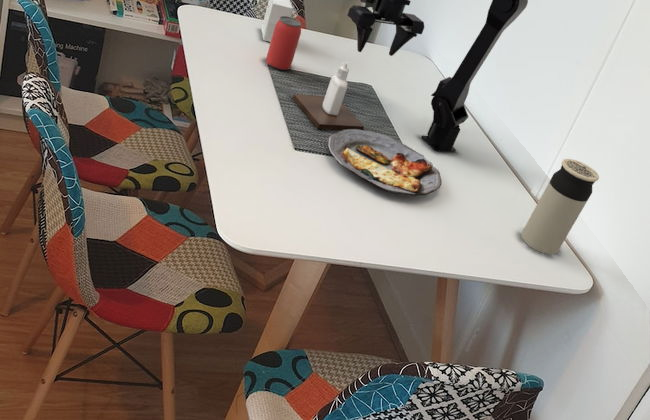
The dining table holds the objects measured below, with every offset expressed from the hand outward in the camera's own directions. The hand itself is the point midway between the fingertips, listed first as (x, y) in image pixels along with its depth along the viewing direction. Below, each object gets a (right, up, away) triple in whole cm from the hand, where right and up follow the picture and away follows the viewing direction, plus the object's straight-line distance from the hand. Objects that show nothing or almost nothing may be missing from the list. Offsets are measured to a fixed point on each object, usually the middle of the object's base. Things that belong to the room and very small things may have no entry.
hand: (374, 53), depth 177 cm
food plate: (0, -29, -20) cm, 35 cm away
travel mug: (+31, -44, -27) cm, 61 cm away
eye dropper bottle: (-11, -15, -6) cm, 19 cm away
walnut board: (-11, -15, -6) cm, 20 cm away
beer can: (-24, -1, +10) cm, 26 cm away
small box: (-27, +10, +26) cm, 38 cm away
